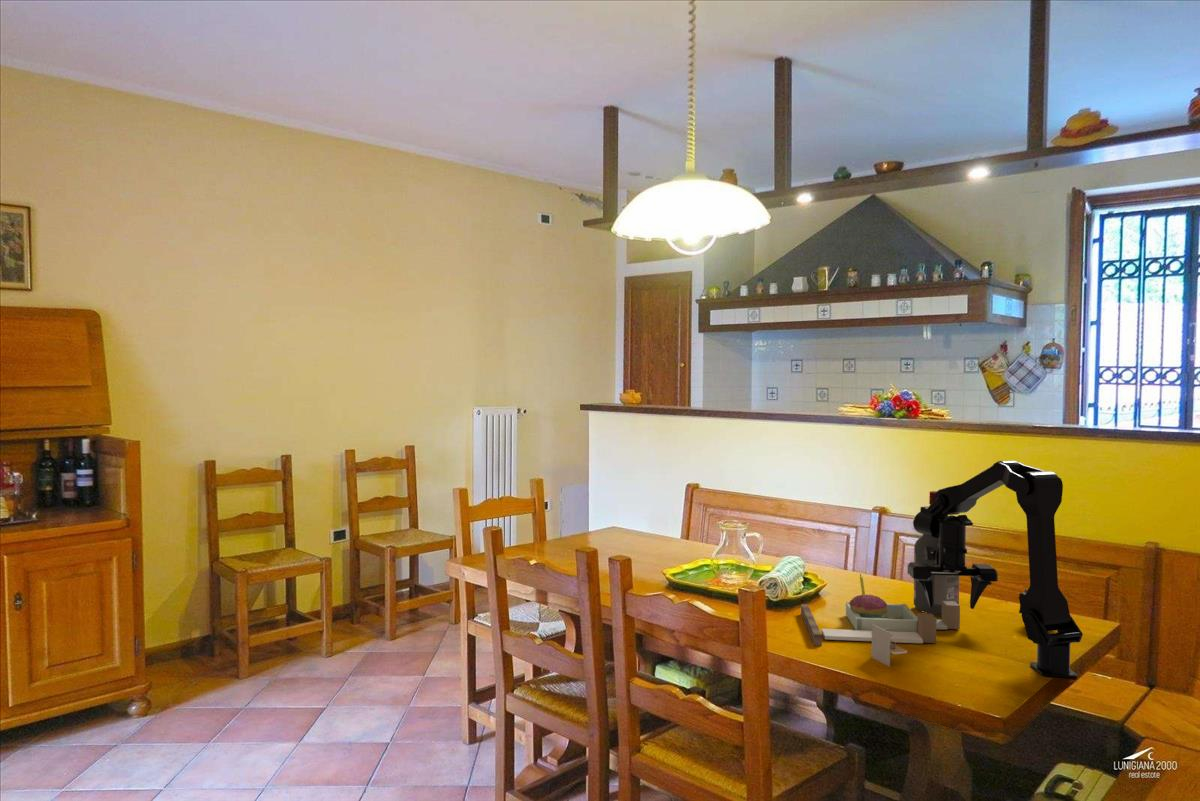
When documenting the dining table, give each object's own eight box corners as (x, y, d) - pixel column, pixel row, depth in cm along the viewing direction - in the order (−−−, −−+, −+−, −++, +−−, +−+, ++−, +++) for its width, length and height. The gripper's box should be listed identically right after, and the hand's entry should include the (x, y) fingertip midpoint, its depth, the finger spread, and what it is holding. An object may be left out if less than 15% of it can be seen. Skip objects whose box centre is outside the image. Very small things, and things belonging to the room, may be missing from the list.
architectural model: (884, 657, 165) (884, 622, 165) (906, 668, 159) (907, 632, 159) (870, 659, 164) (871, 624, 164) (893, 670, 158) (893, 634, 157)
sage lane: (966, 636, 176) (967, 612, 176) (856, 631, 179) (856, 608, 179) (948, 617, 190) (948, 595, 189) (845, 614, 193) (846, 592, 193)
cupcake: (845, 626, 184) (846, 576, 184) (854, 617, 191) (854, 568, 191) (883, 632, 180) (884, 581, 179) (890, 622, 187) (891, 573, 187)
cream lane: (937, 643, 171) (937, 619, 171) (824, 639, 174) (825, 615, 174) (930, 636, 176) (930, 612, 176) (821, 632, 179) (821, 608, 179)
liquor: (963, 611, 196) (965, 493, 195) (941, 617, 191) (942, 496, 190) (931, 603, 203) (932, 488, 202) (908, 608, 198) (910, 491, 198)
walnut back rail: (821, 645, 171) (821, 635, 171) (814, 645, 171) (814, 634, 171) (807, 614, 194) (807, 604, 194) (800, 613, 194) (801, 604, 194)
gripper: (981, 536, 189) (980, 599, 190) (902, 534, 192) (901, 596, 192) (999, 545, 178) (998, 613, 179) (914, 543, 181) (913, 610, 181)
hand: (951, 607), depth 183 cm, fingers open, 9 cm apart
